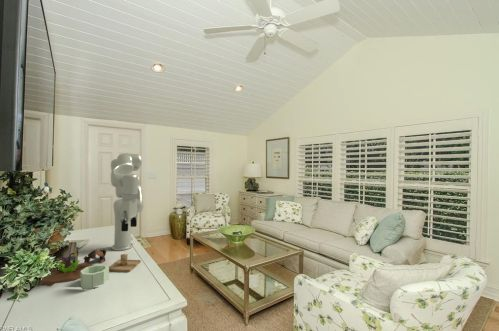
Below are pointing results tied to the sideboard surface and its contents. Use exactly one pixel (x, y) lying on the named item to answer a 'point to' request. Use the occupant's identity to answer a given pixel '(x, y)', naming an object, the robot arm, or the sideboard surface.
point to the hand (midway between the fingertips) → (129, 228)
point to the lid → (123, 264)
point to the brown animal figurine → (93, 255)
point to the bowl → (94, 276)
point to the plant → (65, 271)
